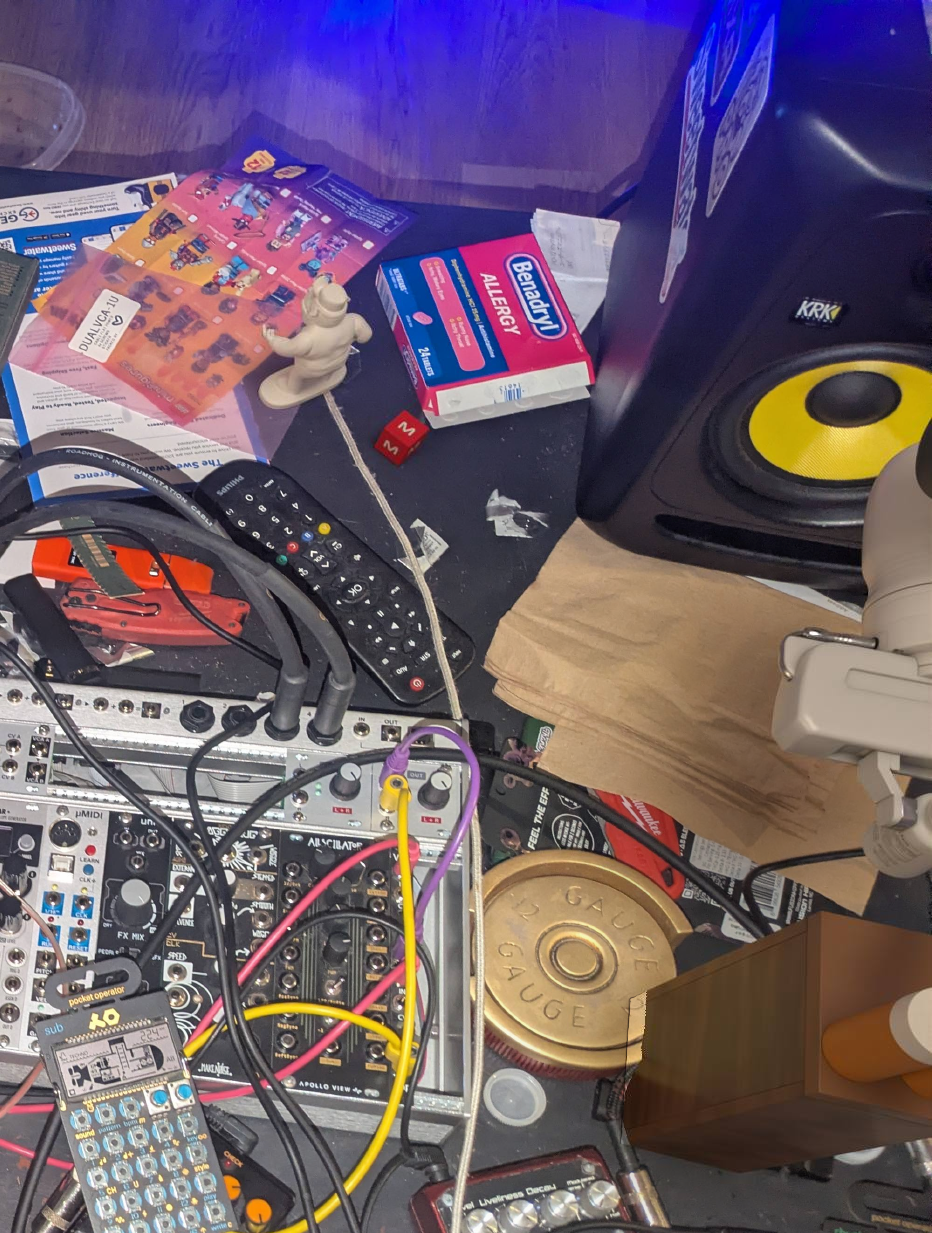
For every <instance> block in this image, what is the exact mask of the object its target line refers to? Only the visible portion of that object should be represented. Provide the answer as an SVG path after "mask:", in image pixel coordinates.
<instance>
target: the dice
mask: <svg viewBox="0 0 932 1233" xmlns="http://www.w3.org/2000/svg"><path fill="white" fill-rule="evenodd" d="M429 431H430V427H428V426H427V425H425V424H424V423H422V422H421V421H420V420H419V419H417V417H415V416H414V415H412V414H411V413H409V412H408V411H406V410H405V409H404V410H403V411H402V412H400V414H399V415H397V416H396V417H395V418H394V419H392V420H391V421H390V422H389V423H388V424H387V425H385V427H383V429H382V431H381V433H380V435H379V437H378V438H377V441H376V443H375V444H374V446H373V447H374V449H375V450H376V451H378V452H379V453H380V454H382V455H383V456H384V457H385V458H387V459H388V460H390V461H391V462H392V463H393V464H395V465H396V466H397V467H400V465H402V464H403V463H404V462H405V461H406V460H407V459H408V458H410V457H411V456H412V455H413V454H415V452H416V451H418V450H419V448H420V447H421V445H422V443H423V441H424V440H425V438H426V436H427V435H428V433H429Z"/></svg>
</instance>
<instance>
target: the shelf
mask: <svg viewBox="0 0 932 1233" xmlns="http://www.w3.org/2000/svg"><path fill="white" fill-rule="evenodd" d="M807 917H808V929H807V982H806V1036H805V1089H804V1096H806V1097H810V1098H814V1099H818V1100H822V1101H826V1102H831V1103H835V1104H839V1105H843V1106H848V1107H852V1108H856V1109H860V1110H864V1111H869V1112H873V1113H877V1114H881V1115H886V1116H890V1117H894V1118H898V1119H902V1120H907V1121H911V1122H915V1123H919V1124H923V1125H928V1126H932V1100H931V1099H928V1098H925V1097H923V1096H921V1095H919V1094H918V1093H916V1092H915V1091H913V1090H912V1089H911V1088H910V1087H909V1086H908V1085H907V1084H906V1082H905V1081H904V1080H903V1078H902V1076H901V1075H898V1076H894V1077H890V1078H886V1079H882V1080H878V1081H874V1082H870V1083H860V1082H855V1081H852V1080H849V1079H847V1078H845V1077H843V1076H842V1075H840V1074H839V1073H837V1072H836V1071H835V1070H834V1069H833V1068H832V1067H831V1065H830V1064H829V1063H828V1061H827V1060H826V1058H825V1055H824V1053H823V1049H822V1038H823V1034H824V1032H825V1030H826V1029H827V1027H828V1026H829V1025H830V1024H831V1023H833V1022H835V1021H837V1020H839V1019H842V1018H845V1017H848V1016H851V1015H854V1014H858V1013H861V1012H864V1011H867V1010H870V1009H873V1008H876V1007H879V1006H882V1005H885V1004H888V1003H891V1002H894V1001H897V1000H899V999H901V998H902V997H904V996H906V995H909V994H912V993H915V992H918V991H921V990H924V989H927V988H932V934H929V933H925V932H921V931H915V930H911V929H906V928H903V927H898V926H895V925H889V924H884V923H879V922H875V921H870V920H865V919H863V918H862V919H861V918H857V917H854V916H853V917H852V916H848V915H843V914H839V913H835V912H834V913H833V912H830V911H825V910H820V911H818V912H815V913H813V914H811V915H810V916H807Z"/></svg>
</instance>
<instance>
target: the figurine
mask: <svg viewBox="0 0 932 1233" xmlns="http://www.w3.org/2000/svg"><path fill="white" fill-rule="evenodd" d="M350 302H351V298H350V296H348V294H347V291H346V290H345V288H344V287H343V286H341V284H339V283H337V282H329V279H328V276H327V275H325V274H323V275H321V276H319V277H318V278H316V279H315V280H314V281H313V283H312V285H310V286H309V287H308V288H307V293H306V294H305V295H304V297H302V299H301V302H300V307H301V315H300V316H301V321H302V322H303V323H304V325H305V326H303V327H302V329H301V331H300V332H299V333H298V334H296V335H295V336H294V337H292V338H288V337H283V336H281V335H276V334H275V329H273V328H268V329H267V325H266V324H265V323H263V324H262V328H261V331H262V337H263V338H264V339H265V340H266V342H267V343H268V346H269V348H270V349H271V350H272V351H273V352H274V353H275V354H277V355H278V356H281V357H284V358H294V363H293V364H291V365H289V366H287V367H285V368H282V369H280V370H278V371H275V372H274V373H272V374H270V375H268V376H267V377H266V378H265V379H264V380H263V381H262V382H261V384H260V386H259V389H258V391H257V393H258V397H259V400H260V401H261V402H262V403H263V405H264V406H266V407H267V408H269V409H270V410H271V409H272V410H277V411H278V410H287V409H290V408H294V407H296V406H299V405H302V404H304V403H306V402H308V401H311V400H312V399H314V398H317V397H320V396H322V395H324V394H326V393H328V392H329V391H332V390H333V389H335V388H336V387H338V386H339V385H340V384H342V382H343V381H344V379H345V377H346V375H347V371H348V370H347V366H346V362H347V360H348V358H349V357H350V352H351V349H352V344H353V343H354V342H357V343H358V344H366V343H367V342H369V341H370V339H371V338H372V337H373V329H372V328H371V326H370V325H369V323H368V322H367V321H366V320H365V318H364V317H363V316H362V315H360V314H358V313H356V312H348V313H347V311H348V303H350Z"/></svg>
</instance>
